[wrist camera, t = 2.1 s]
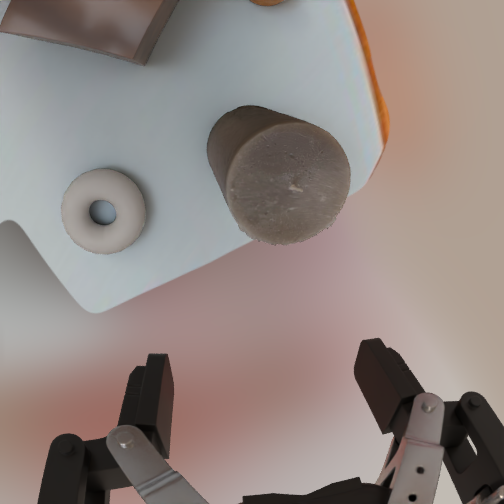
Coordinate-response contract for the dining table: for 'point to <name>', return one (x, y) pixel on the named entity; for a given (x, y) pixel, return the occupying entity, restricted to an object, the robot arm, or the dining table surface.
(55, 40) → the cabinet
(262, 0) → the orange domed cylinder
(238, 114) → the pillar candle
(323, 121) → the dining table surface
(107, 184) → the donut
